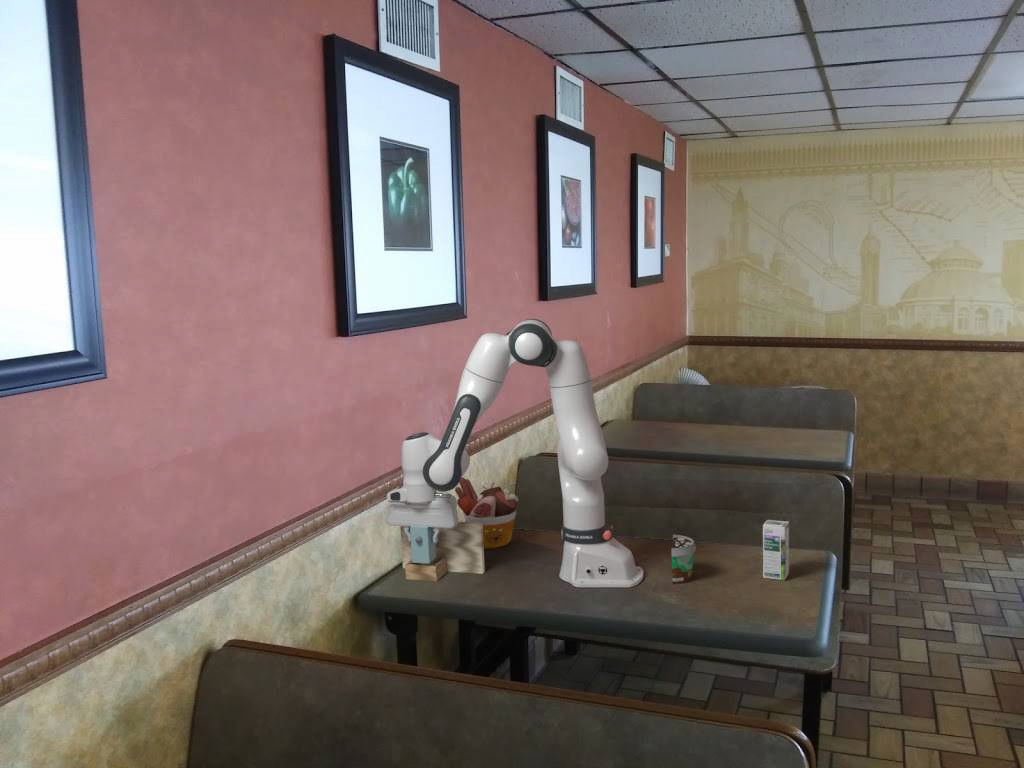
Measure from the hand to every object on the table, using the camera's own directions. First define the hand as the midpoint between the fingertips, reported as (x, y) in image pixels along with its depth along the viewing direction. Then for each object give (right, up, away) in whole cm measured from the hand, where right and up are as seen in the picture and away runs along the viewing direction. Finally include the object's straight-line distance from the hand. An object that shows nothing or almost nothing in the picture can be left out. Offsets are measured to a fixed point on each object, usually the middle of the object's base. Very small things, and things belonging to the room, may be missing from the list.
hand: (423, 541), depth 254 cm
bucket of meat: (+17, -5, +29) cm, 34 cm away
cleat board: (+4, -10, +3) cm, 11 cm away
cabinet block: (0, -5, +1) cm, 5 cm away
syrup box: (+93, -8, -9) cm, 94 cm away
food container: (+70, -8, -8) cm, 71 cm away
